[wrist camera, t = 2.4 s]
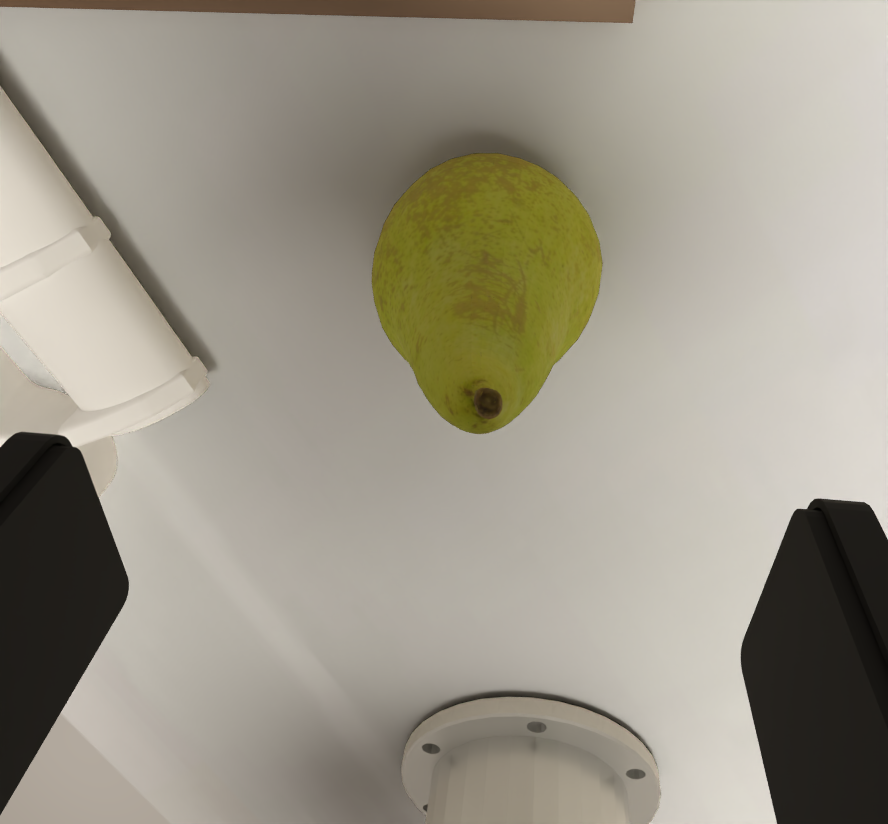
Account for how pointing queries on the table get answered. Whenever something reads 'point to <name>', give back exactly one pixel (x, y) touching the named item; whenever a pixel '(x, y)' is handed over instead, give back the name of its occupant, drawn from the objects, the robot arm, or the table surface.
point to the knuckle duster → (77, 315)
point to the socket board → (375, 8)
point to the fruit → (485, 284)
